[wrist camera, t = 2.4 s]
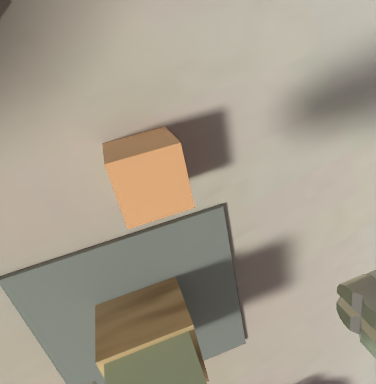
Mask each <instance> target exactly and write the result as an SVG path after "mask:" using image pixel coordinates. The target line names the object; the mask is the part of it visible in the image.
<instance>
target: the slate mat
mask: <svg viewBox="0 0 376 384" xmlns="http://www.w3.org/2000/svg"><path fill="white" fill-rule="evenodd" d="M175 276H176V279H177V282H178V284H179V287H180V290H181V293H182V295H183V298H184V301H185V303H186V306H187V309H188V312H189V314H190V317H191V320H192V323H193V325H194V329H195V333H196V336H197V340H198V343H199V347H200V350H201V354H202V357H203V361H204V360H206V359H209V358H211V357H214V356H216V355H219V354H221V353H223V352H226V351H228V350H231V349H233V348H235V347H238V346H240V345H243V344H245V343H246V341H245V335H244V329H243V323H242V317H241V311H240V305H239V299H238V293H237V287H236V281H235V274H234V268H233V262H232V256H231V250H230V244H229V238H228V232H227V226H226V220H225V214H224V208H223V206H222V204H221V205H218V206H214V207H211V208H208V209H205V210H202V211H199V212H196V213H193V214H190V215H187V216H184V217H181V218H178V219H175V220H172V221H169V222H166V223H163V224H159V225H156V226H153V227H150V228H147V229H144V230H141V231H138V232H135V233H132V234H129V235H126V236H123V237H120V238H117V239H114V240H111V241H108V242H105V243H101V244H98V245H95V246H92V247H89V248H86V249H83V250H80V251H77V252H74V253H71V254H68V255H65V256H62V257H59V258H56V259H53V260H50V261H47V262H43V263H40V264H37V265H34V266H31V267H28V268H25V269H22V270H19V271H16V272H13V273H10V274H7V275H4V276H1V277H0V285H1V287H2V288H3V290H4V291H5V293H6V294H7V296H8V297H9V299H10V300H11V302H12V303H13V305H14V306H15V308H16V309H17V311H18V312H19V314H20V315H21V317H22V318H23V320H24V321H25V323H26V324H27V326H28V327H29V329H30V330H31V332H32V333H33V335H34V336H35V338H36V339H37V341H38V342H39V344H40V345H41V347H42V348H43V349H44V351H45V352H46V354H47V355H48V357H49V358H50V360H51V361H52V363H53V364H54V366H55V367H56V369H57V370H58V372H59V373H60V375H61V376H62V378H63V379H64V381H65V382H66V384H87V383H90V382H93V381H96V383H97V384H105V381H104V377H103V376H102V374H101V372H100V370H99V368H98V367H97V365H96V363H95V305H98V304H100V303H103V302H106V301H109V300H112V299H114V298H117V297H120V296H123V295H125V294H128V293H131V292H134V291H137V290H139V289H142V288H145V287H148V286H150V285H153V284H156V283H159V282H162V281H164V280H167V279H170V278H173V277H175Z"/></svg>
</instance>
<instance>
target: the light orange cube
mask: <svg viewBox="0 0 376 384" xmlns="http://www.w3.org/2000/svg"><path fill="white" fill-rule="evenodd" d="M102 144H103V154H104V164H105V167H106V170H107V173H108V175H109V178H110V181H111V184H112V187H113V189H114V192H115V195H116V198H117V201H118V204H119V206H120V209H121V212H122V215H123V218H124V220H125V223H126V226H127V229H130V228H134V227H137V226H140V225H143V224H146V223H149V222H152V221H155V220H158V219H161V218H164V217H167V216H170V215H174V214H177V213H180V212H183V211H186V210H189V209H192V208H195V206H194V201H193V197H192V192H191V187H190V183H189V178H188V173H187V169H186V164H185V160H184V155H183V150H182V146H181V142H180V141H179V140H178V139H177V138H176V137H175V136H174V135H173V134H172V133H171V132H170V131H169V130H168V129H167V128H166V127H165V126H164V127H161V128H157V129H153V130H150V131H146V132H142V133H139V134H135V135H131V136H128V137H124V138H120V139H117V140H113V141H110V142H106V143H102Z"/></svg>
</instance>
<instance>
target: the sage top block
mask: <svg viewBox="0 0 376 384" xmlns="http://www.w3.org/2000/svg"><path fill="white" fill-rule="evenodd" d="M104 381H105V384H207V383H206V380H205V377H204V374H203V371H202V368H201V365H200V363H199V360H198V357H197V354H196V351H195V348H194V345H193V342H192V339H191V336H190V333H189V331H187V332H185V333H182V334H180V335H177V336H175V337H172V338H169V339H167V340H164V341H162V342H159V343H157V344H154V345H152V346H149V347H147V348H144V349H142V350H139V351H136V352H134V353H131V354H129V355H126V356H124V357H121V358H119V359H116V360H114V361H111V362H108V363H106V364H104Z"/></svg>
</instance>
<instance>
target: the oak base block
mask: <svg viewBox="0 0 376 384" xmlns="http://www.w3.org/2000/svg"><path fill="white" fill-rule="evenodd" d="M187 331H189V333H190V336H191V339H192V342H193V345H194V348H195V351H196V354H197V357H198V360H199V363H200V365H201V368H202V371H203V374H204V377H205V380H206V382H208V381H209V379H208V375H207V372H206V368H205V365H204V361H203V357H202V354H201V350H200V347H199V343H198V340H197V336H196V333H195V329H194V325H193V323H192V320H191V317H190V314H189V312H188V309H187V306H186V303H185V301H184V298H183V295H182V293H181V290H180V287H179V284H178V282H177V279H176V276H175V277H173V278H170V279H167V280H164V281H162V282H159V283H156V284H153V285H150V286H148V287H145V288H142V289H139V290H137V291H134V292H131V293H128V294H125V295H123V296H120V297H117V298H114V299H112V300H109V301H106V302H103V303H100V304H98V305H95V363H96V365H97V367H98V368H99V370H100V372H101V374H102V376H103V377H104V364H106V363H108V362H111V361H114V360H116V359H119V358H121V357H124V356H126V355H129V354H131V353H134V352H136V351H139V350H142V349H144V348H147V347H149V346H152V345H154V344H157V343H159V342H162V341H164V340H167V339H169V338H172V337H175V336H177V335H180V334H182V333H185V332H187Z"/></svg>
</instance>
